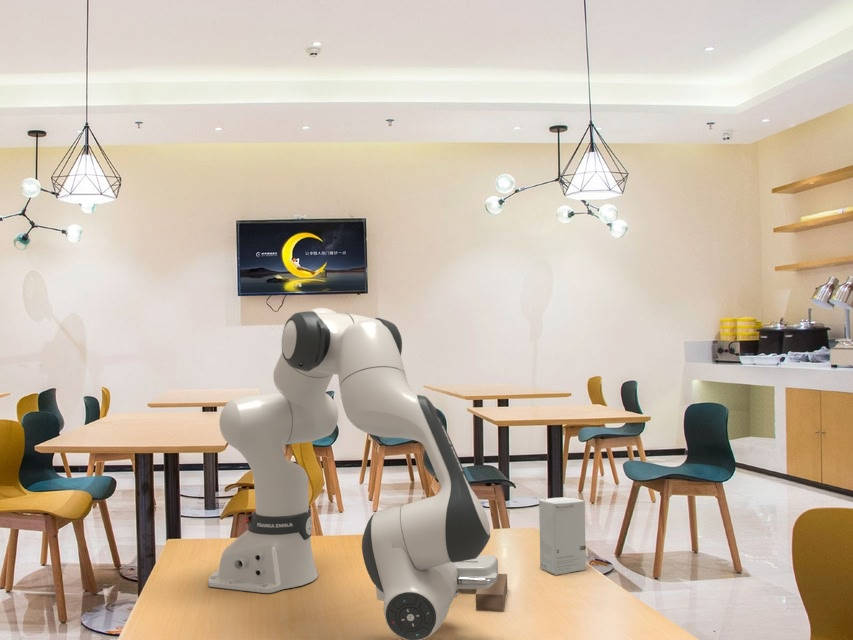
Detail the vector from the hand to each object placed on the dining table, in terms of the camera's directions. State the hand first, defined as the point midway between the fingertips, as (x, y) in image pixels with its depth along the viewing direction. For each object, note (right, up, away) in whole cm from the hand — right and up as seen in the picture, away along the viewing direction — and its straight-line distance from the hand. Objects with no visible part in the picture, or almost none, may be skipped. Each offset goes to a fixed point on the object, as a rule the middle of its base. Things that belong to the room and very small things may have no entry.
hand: (442, 556), depth 131 cm
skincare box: (+26, -12, +29) cm, 41 cm away
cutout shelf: (+2, -12, +13) cm, 18 cm away
